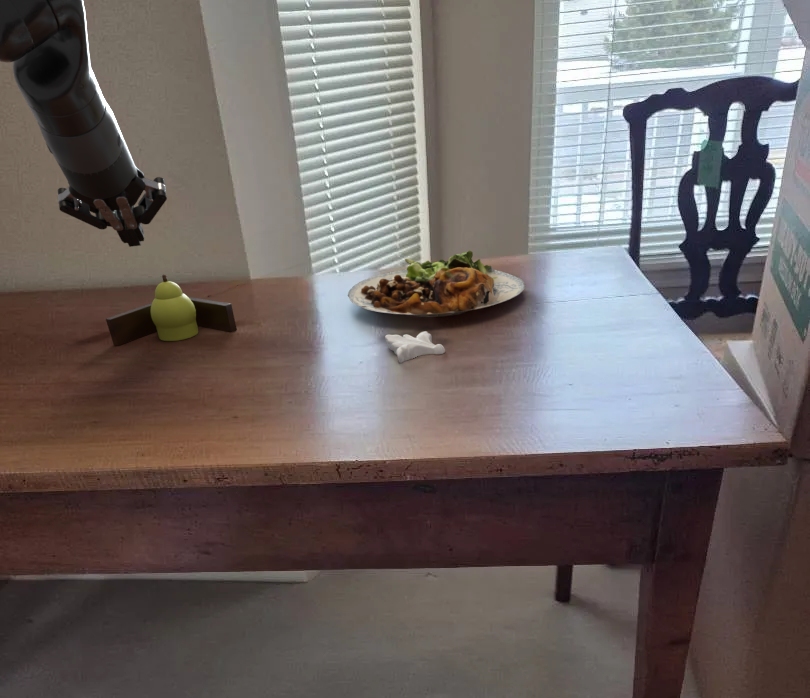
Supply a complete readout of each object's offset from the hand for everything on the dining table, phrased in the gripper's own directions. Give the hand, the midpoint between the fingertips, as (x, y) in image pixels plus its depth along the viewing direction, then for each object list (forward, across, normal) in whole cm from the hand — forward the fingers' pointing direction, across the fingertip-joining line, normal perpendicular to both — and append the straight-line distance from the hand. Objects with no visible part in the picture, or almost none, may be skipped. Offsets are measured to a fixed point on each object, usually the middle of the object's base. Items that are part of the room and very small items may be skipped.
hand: (134, 240), depth 94 cm
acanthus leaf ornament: (+4, -34, +19) cm, 39 cm away
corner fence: (+18, 0, +4) cm, 19 cm away
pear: (+19, -1, +4) cm, 19 cm away
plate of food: (+19, -41, +4) cm, 46 cm away
